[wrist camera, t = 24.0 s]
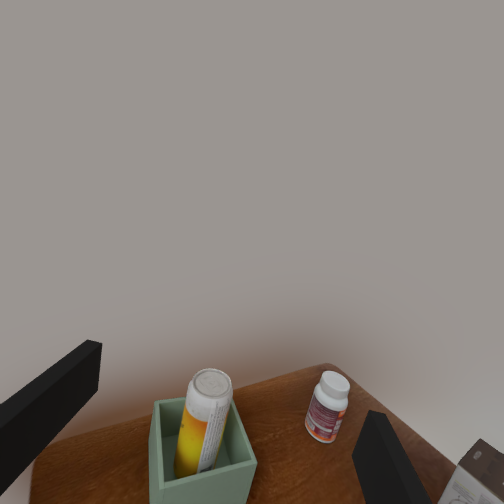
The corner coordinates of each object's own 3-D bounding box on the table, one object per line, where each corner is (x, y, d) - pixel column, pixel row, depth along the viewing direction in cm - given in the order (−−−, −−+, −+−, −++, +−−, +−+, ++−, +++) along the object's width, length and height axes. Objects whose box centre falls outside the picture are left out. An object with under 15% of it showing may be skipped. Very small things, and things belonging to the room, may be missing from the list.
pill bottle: (335, 450, 45) (354, 398, 43) (302, 434, 47) (318, 384, 45) (335, 424, 51) (352, 377, 49) (306, 410, 53) (320, 364, 50)
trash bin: (150, 538, 29) (159, 490, 28) (148, 439, 40) (154, 400, 38) (245, 505, 34) (257, 462, 33) (221, 425, 45) (229, 390, 44)
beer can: (200, 439, 41) (217, 361, 38) (222, 473, 37) (243, 388, 34) (165, 461, 37) (181, 374, 34) (185, 501, 33) (205, 407, 30)
